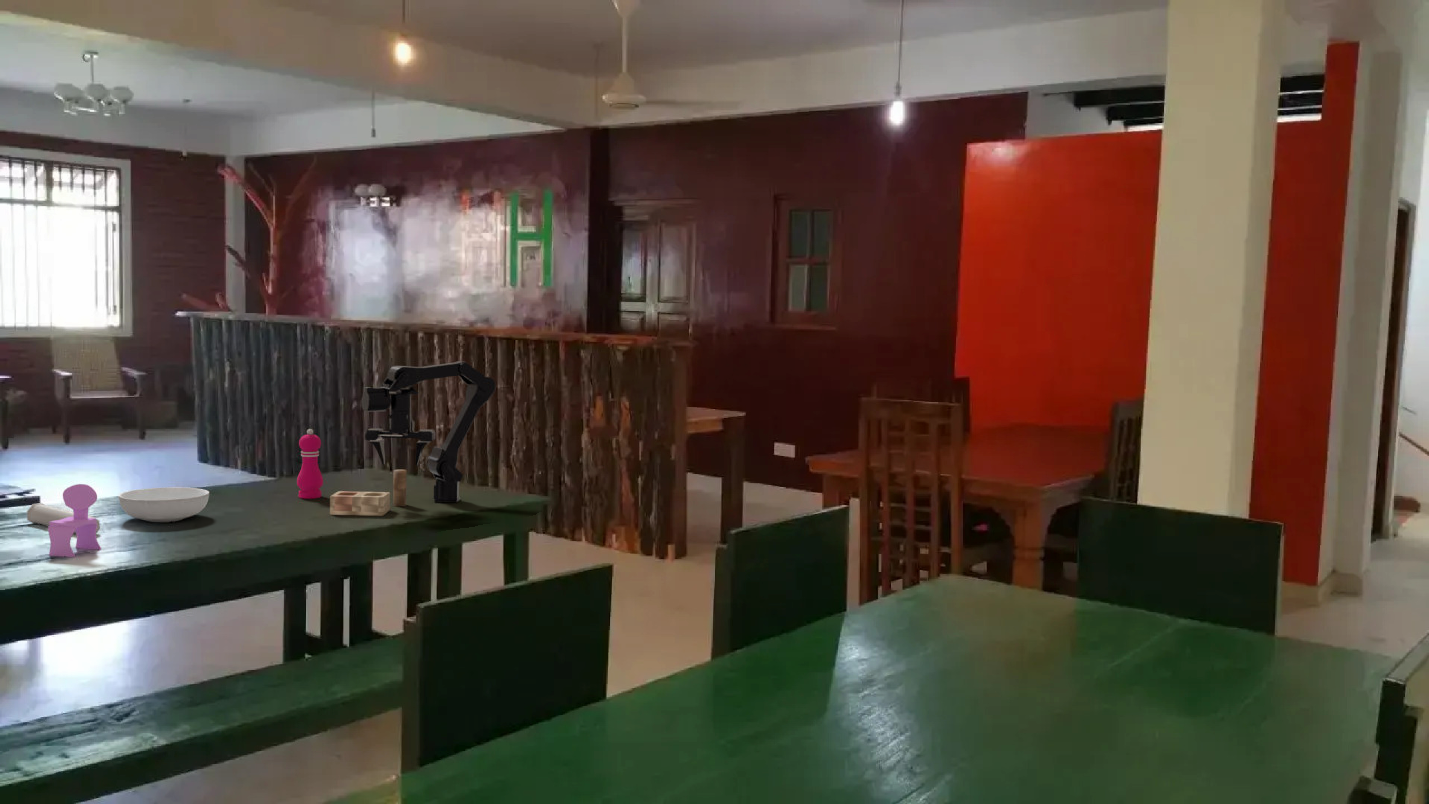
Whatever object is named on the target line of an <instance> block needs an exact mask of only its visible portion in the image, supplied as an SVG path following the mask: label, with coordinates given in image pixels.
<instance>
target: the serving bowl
mask: <svg viewBox="0 0 1429 804" xmlns="http://www.w3.org/2000/svg"><path fill="white" fill-rule="evenodd" d="M209 498H210V491H209V490H206V489H201V488H198V487H197V488H195V487H173V486H172V487H170V486H169V487H151V488H142V489H141V488H140V489H133V490H128V491H124V492H122V493H119V495H118V501H119V504H120V507H121V508H122V510H123V512H125V514H127V515H128V516H130V517H131V518H135V519H138V520H143V521H146V522H150V523H169V522H171V521H172V522H177V521H183V519H187V518H189V517H193V516H194V515H197V514H199V513H200V512H202V510H204V508H205V507H206V506H207V504H208V501H209Z"/></svg>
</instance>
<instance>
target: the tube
mask: <svg viewBox="0 0 1429 804" xmlns="http://www.w3.org/2000/svg"><path fill="white" fill-rule="evenodd" d="M73 516H74V513H73V510H72V511H70V510H68V509H64V508H63V509H62V508H59V507H55V506H52V505H51V506H50V505H47V504H44V503H42V502H39V503H33V504H31V505H30V507H29V508H28V510H27V511H26V521H28V522H30V523H32V524H34V523H35V524H36V523H37V525H40V524H42V525H41V526H44V525H45V526H44V527H48V526H49V522H51V521H56V520H61V519H64V518H67V517H73ZM88 518H96V517H94V516H91V515H88ZM96 523H97V528H96V534H97V533H98V532H99V531H100V529H101V526H100V525H101V524H100V520H99V519H98V518H96ZM73 534H76V531H74V533H73Z"/></svg>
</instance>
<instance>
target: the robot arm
mask: <svg viewBox="0 0 1429 804" xmlns="http://www.w3.org/2000/svg"><path fill="white" fill-rule="evenodd" d="M457 376H458V377H459V378H460V379H461V381H462V382H463V383H465V384H466V385H467V387H466V391H465V401H464V403H463V405H462V407H461V409H460V410H459V413H458V415H457V417H456V419H455V421H454V423H453V425H452V426H451V429H450V430H449V432H448V433H447V436H446V438H445V440H444V442H443V443H442V444H441V445H440V446H439V447H438V446H433V448H432V451H431V453H430V454H429V455H428V457H427V461H428V462H427V468H428V470H429V472H431V473H432V475H433V479H435V484H434V485H433V499H434V502H435V503H458V502H459V501H460V499H461V497H460V482H462V479H463V476H464V474H463V473H462V472H461V471H460V470H459V469H458V467H457V464H458V460H459V458H458V457H459V450H460V447H461V445H463V442H464V440H465V437H466V436H467V434H468V432H469V430H470V429H471V427H472V424H473V422H474V421H475V418H476V416H477V414H478V413H479V410H480V408H481V407H483V405H485V404H486V403H487V402H488V401H489V400H490V399H491V397H492V395H494V393H495V391H496V389H497V388H496V387H497V386H496V385H497V384H496V383H495V381H494V379H493V378H491V377H489V376H485V375H484V374H483V373H482V372H481V371H478V370H477V369H476V368H474V366H471V365H470V363H468V362H466V361H462V360H461V361H459V360H457V361H455V362H449V363H441V364H432V365H424V366H410V365H409V366H408V365H407V366H405V365H394V366H391V367H390V369H389V370H388V372H387V376H386V378H385V379H384V381H383V382H382V383H381V384H380V386H379V387H370V386H369V387H368V386H366V387H364V391H363V393H362V398H361V401H360V402H361V408H362V410H363V412H365V413H367V412H369V413H371V412H386V411H387V409H389V421H388V427H389V430H388V431H387V430H386V431H384V429H383V428H369V429H367V430H366V431H365V432H364V441H368V442H369V444H372V445H373V447H374V448H375V450H376V452H377V454H378V457H379V459H380V462H381V464H382V465H383V466H385V464H386V453H385V439H386V438H387V439H389V438H390V439H418V441H417V442H416V446H415V447H416V449H415V460H414V461H415V466H418V465H419V463H420V459H421V457H422V454H423V451H424V449H425V447H426V445H428V444H430V443H431V442H433V441H435V440H436V431H435V430H434V429H426V428H425V429H424V428H423V429H419V430H418V431H415V423H416V422H415V420H413V418H412V395H419V391H418V390H416V389H415V388H414V385H417V384H419V383H421V382H423V381H428V380H435V379H442V378H449V377H457ZM456 467H457V468H456Z"/></svg>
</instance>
